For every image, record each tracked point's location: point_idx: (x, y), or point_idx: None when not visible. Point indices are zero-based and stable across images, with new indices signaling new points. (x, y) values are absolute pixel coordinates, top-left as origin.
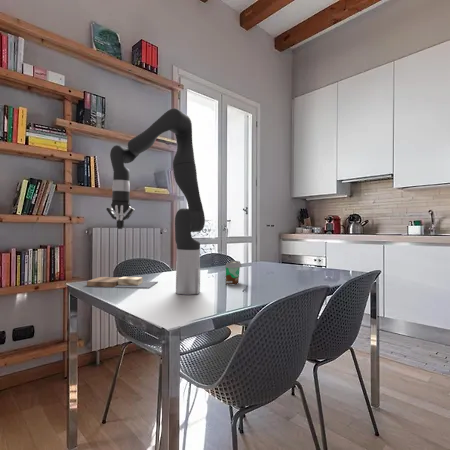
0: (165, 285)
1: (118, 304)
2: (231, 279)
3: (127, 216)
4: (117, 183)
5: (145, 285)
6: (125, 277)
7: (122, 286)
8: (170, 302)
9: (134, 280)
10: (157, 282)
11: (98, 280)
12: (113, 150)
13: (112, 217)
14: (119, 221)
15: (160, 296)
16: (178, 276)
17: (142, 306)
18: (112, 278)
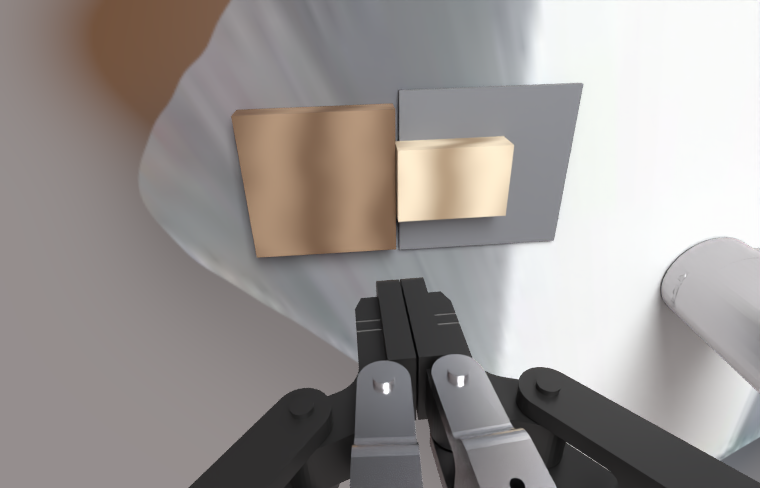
0: (623, 153)
1: None
2: None
3: (587, 480)
4: None
5: (530, 201)
6: (422, 174)
7: (432, 242)
8: (633, 394)
9: (483, 214)
10: (580, 89)
11: (297, 226)
12: None
13: (288, 484)
14: (414, 408)
15: (604, 343)
16: (713, 349)
17: None
18: (337, 154)
